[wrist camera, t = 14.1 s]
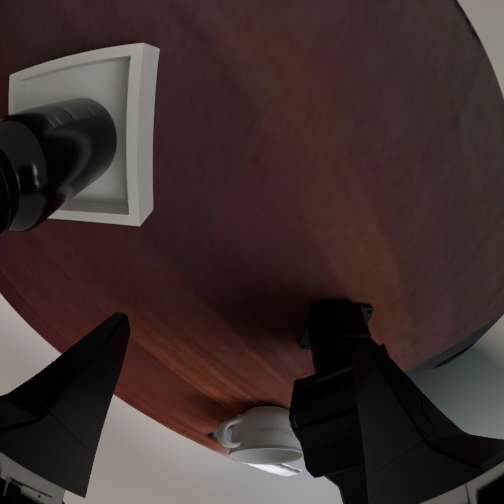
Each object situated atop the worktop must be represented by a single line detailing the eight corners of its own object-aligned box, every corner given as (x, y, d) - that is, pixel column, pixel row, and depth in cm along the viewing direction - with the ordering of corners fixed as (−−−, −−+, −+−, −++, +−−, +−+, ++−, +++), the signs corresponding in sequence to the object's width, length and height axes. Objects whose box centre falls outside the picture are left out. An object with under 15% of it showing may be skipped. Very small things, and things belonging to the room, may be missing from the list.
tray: (153, 209, 22) (140, 226, 19) (39, 202, 21) (20, 215, 18) (159, 48, 15) (143, 42, 12) (32, 72, 14) (9, 75, 12)
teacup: (313, 414, 39) (318, 458, 32) (258, 431, 43) (258, 470, 36) (262, 381, 33) (262, 436, 27) (202, 401, 37) (195, 449, 30)
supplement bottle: (40, 131, 17) (-72, 184, 6) (96, 79, 15) (-38, 98, 5) (76, 196, 20) (-21, 283, 10) (136, 155, 18) (24, 234, 8)
